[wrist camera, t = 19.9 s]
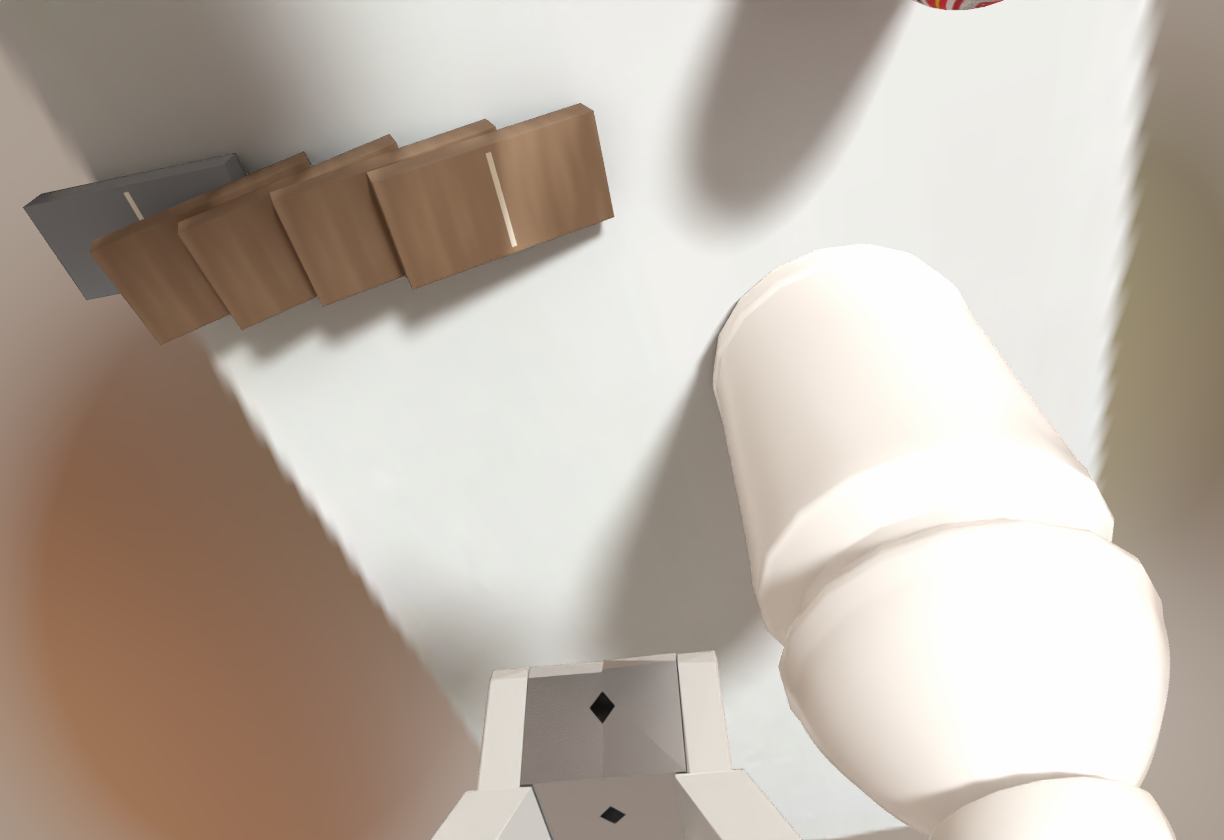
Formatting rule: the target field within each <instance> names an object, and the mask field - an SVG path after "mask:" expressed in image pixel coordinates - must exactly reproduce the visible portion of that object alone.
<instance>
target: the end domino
mask: <svg viewBox="0 0 1224 840" xmlns="http://www.w3.org/2000/svg"><path fill="white" fill-rule="evenodd" d="M245 176H246V174H245V172H244V170H243V168H242V166H241V164H240V162H239V160H238V158H237V156H236V154H235V153H233V154H228V155H223V156H219V157H214V158H209V159H205V160H200V161H195V162H190V163H186V164H181V165H176V166H172V167H167V168H162V169H157V170H153V171H148V172H143V173H139V174H134V175H129V176H124V177H120V178H115V179H110V180H106V181H101V182H96V183H89V184H85V185H80V186H76V187H71V188H66V189H61V190H57V191H52V192H47V193H43V194H41V195H39V196H38V197H36V198H35V199H34V200H32V201H31V202H30V203H29V204H27V205H26V206H24V207H23V208H24V209H25V211H26V212H27V214H28V215H29V217H30V218H31V220H32V221H33V222H34V224H35V226H36V227H37V229H38V230H39V231H40V233H41V234H42V236H43V237H44V239H45V240H46V242H47V243H48V244H49V246H50V247H51V249H52V250H53V252H54V253H55V255H56V256H57V258H58V259H59V261H60V262H61V264H62V265H63V266H64V268H65V269H66V271H67V272H68V274H69V275H70V276H71V278H72V280H73V281H74V282H75V284H76V285H77V287H78V288H79V290H80V291H81V293H82V294H83V296H84V297H85V299H86V300H89V299H94V298H100V297H104V296H110V295H114V294H120V292H119V291H118V289H117V288H116V287H115V285H114V284H113V283H112V282H111V280H110V279H109V278H108V276H107V275H106V274H105V273H104V271H103V270H102V269H101V267H100V266H99V265H98V264H97V262H96V261H95V260H94V258H93V257H92V256H91V254H90V253H89V252H90V249H91V246H92V243H93V240H95V239H97V238H99V237H102V236H104V235H107V234H109V233H111V232H114V231H116V230H118V229H121V228H123V227H126V226H128V225H130V224H133V223H135V222H138V221H140V220H142V219H145V218H147V217H149V216H152V215H154V214H157V213H159V212H161V211H164V210H166V209H168V208H171V207H173V206H176V205H178V204H180V203H183V202H185V201H187V200H190V199H192V198H195V197H197V196H199V195H202V194H204V193H207V192H209V191H211V190H214V189H216V188H218V187H221V186H223V185H226V184H228V183H230V182H233V181H235V180H237V179H240V178H242V177H245Z"/></svg>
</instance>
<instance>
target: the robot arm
mask: <svg viewBox="0 0 1224 840" xmlns="http://www.w3.org/2000/svg"><path fill="white" fill-rule="evenodd" d="M677 662H678V664H677ZM430 840H803V839H802V838H801V837H800V836H799V835H798V833H797V832H796V831H795V830H794V829H793V827H792V826H791V825H790V824H789V822H788V821H787V820H786V819H785V818H784V816H783V815H782V814H781V813H780V812H779V810H778V809H777V808H776V807H775V806H774V804H773V803H772V802H771V801H770V799H769V798H768V797H767V796H766V795H765V793H764V792H763V791H762V790H761V789H760V787H759V786H758V785H757V784H756V783H755V781H754V780H753V779H752V778H751V776H750V775H749V774H748V773H747V772H746V770H745V769H733V768H732V761H731V754H730V747H729V740H728V733H727V726H726V719H725V712H724V705H723V697H722V690H721V683H720V676H719V669H718V662H717V657H716V654H715V651H714V650H707V651H698V652H689V653H680V654H677V657H676V653H668V654H659V655H649V656H640V657H631V658H622V659H612V660H603V662H590V663H578V664H565V665H553V666H540V667H523V668H512V669H502V670H494V671H493V673H492V676H491V679H490V681H489V686H488V695H487V703H486V711H485V720H484V728H483V736H482V745H481V753H480V761H479V770H478V778H477V787H476V790H473V791H465V792H464V794H463V795H462V796H461V798H460V799H459V801H458V802H457V803H456V805H455V806H454V807H453V809H452V810H451V812H450V813H449V814H448V816H447V817H446V818H445V820H444V821H443V823H442V824H441V825H440V827H439V828H438V829H437V831H436V832H435V834H434V835H433V837H432V838H431V839H430Z"/></svg>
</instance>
